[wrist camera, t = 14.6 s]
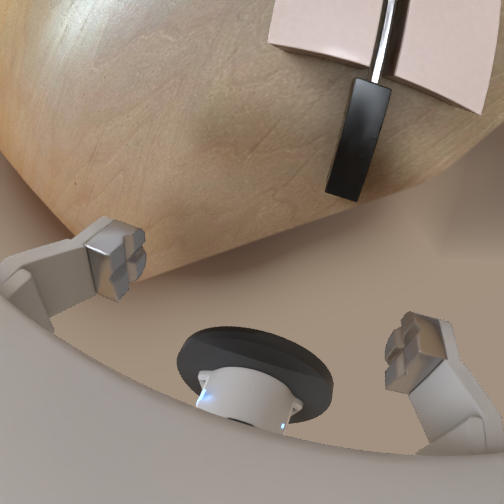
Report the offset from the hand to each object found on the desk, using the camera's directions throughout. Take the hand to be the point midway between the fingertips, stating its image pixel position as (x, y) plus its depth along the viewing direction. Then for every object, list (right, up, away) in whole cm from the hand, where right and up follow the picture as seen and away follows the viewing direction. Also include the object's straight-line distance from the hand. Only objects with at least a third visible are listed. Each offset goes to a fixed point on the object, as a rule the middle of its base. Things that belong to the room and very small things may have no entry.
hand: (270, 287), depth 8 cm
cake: (+10, +20, +5) cm, 23 cm away
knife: (+9, +15, +9) cm, 20 cm away
